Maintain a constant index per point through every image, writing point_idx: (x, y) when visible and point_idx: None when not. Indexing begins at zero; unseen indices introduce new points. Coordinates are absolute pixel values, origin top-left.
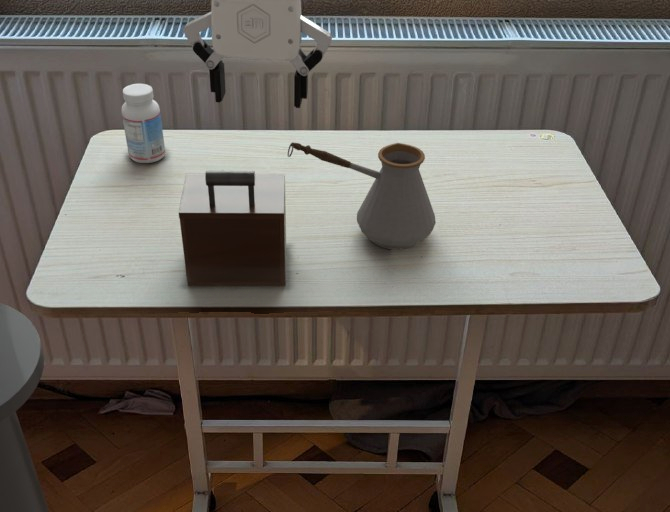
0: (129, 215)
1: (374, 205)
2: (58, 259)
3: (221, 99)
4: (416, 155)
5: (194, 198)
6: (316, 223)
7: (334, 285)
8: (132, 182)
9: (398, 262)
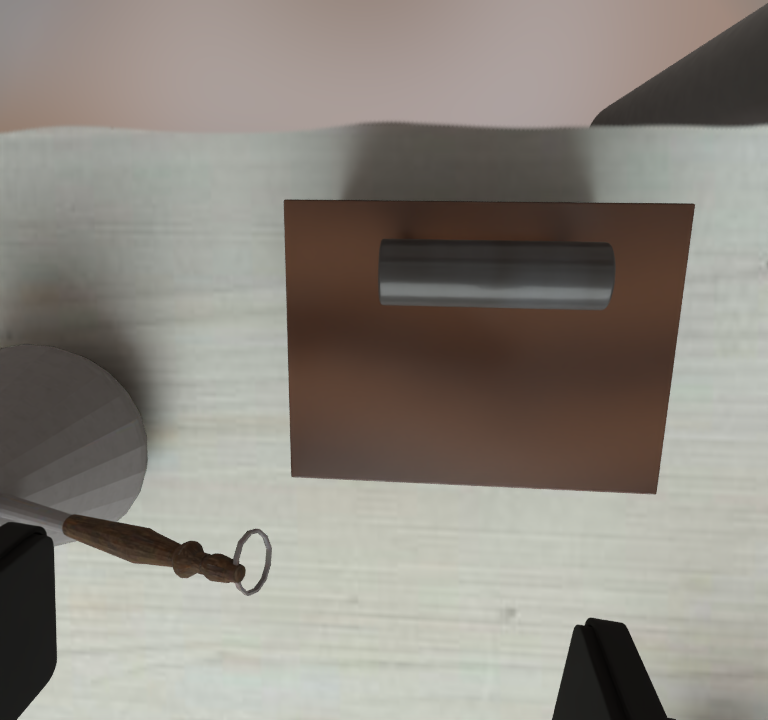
0: (752, 544)
1: (59, 428)
2: None
3: (580, 634)
4: None
5: (628, 311)
6: (265, 487)
7: (215, 216)
8: (742, 690)
9: (62, 313)
